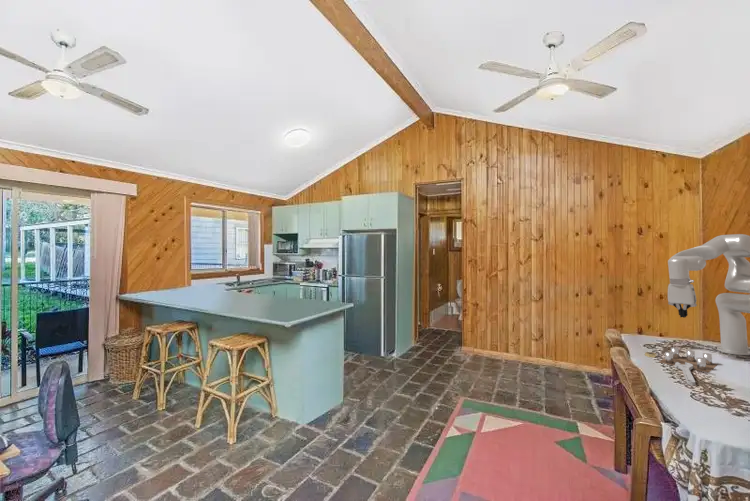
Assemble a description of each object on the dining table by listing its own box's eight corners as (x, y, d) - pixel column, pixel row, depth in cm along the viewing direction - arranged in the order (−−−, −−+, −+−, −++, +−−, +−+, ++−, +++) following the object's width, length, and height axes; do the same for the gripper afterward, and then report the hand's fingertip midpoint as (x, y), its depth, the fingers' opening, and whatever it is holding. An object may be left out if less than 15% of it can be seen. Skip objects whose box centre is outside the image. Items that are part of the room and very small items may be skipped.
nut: (644, 355, 172) (643, 351, 172) (655, 356, 170) (655, 352, 170) (646, 357, 168) (646, 354, 168) (657, 358, 166) (657, 354, 166)
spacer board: (669, 356, 169) (669, 355, 169) (718, 365, 153) (718, 364, 153) (658, 363, 160) (658, 362, 160) (708, 373, 145) (708, 372, 145)
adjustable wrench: (696, 386, 134) (696, 382, 134) (675, 382, 138) (675, 378, 138) (693, 366, 152) (692, 363, 152) (674, 364, 156) (674, 360, 156)
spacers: (672, 356, 167) (671, 347, 167) (713, 364, 154) (712, 354, 154) (663, 362, 160) (662, 352, 160) (705, 370, 147) (704, 360, 147)
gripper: (702, 281, 158) (706, 317, 158) (663, 280, 171) (667, 313, 171) (697, 283, 154) (701, 320, 154) (658, 282, 167) (661, 316, 167)
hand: (683, 316), depth 163 cm, fingers closed
